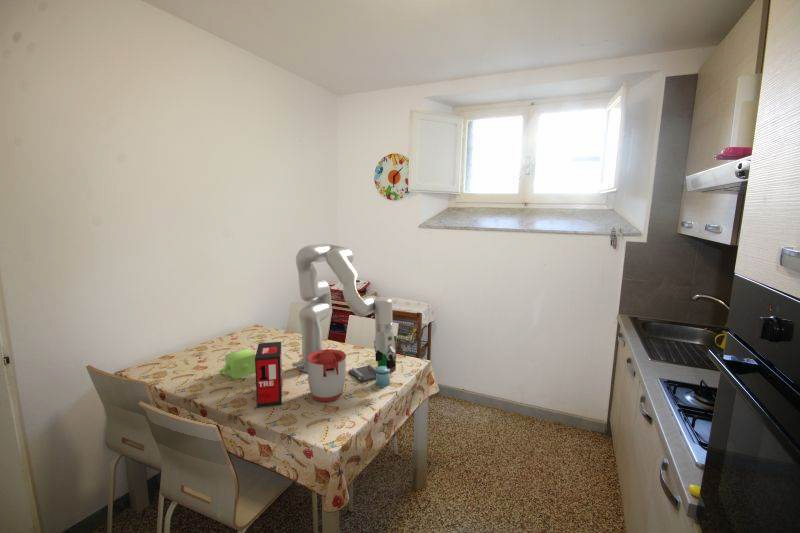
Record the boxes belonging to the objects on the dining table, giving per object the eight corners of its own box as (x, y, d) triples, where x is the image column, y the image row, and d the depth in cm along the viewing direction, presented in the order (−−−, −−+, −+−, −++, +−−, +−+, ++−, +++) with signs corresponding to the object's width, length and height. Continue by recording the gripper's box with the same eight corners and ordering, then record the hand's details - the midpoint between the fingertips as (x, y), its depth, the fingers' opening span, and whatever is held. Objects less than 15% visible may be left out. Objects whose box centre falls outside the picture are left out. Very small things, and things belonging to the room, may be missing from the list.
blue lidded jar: (380, 388, 156) (380, 373, 155) (373, 382, 161) (373, 367, 160) (392, 384, 159) (392, 369, 158) (385, 379, 164) (385, 364, 163)
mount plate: (361, 383, 160) (361, 377, 160) (348, 372, 171) (348, 367, 171) (382, 377, 166) (382, 372, 166) (369, 367, 177) (369, 362, 177)
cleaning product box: (260, 388, 154) (258, 343, 151) (282, 385, 157) (281, 341, 154) (257, 408, 139) (254, 358, 136) (281, 404, 141) (279, 356, 138)
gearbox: (224, 384, 158) (223, 364, 156) (216, 376, 164) (214, 357, 162) (264, 371, 171) (263, 352, 169) (254, 364, 177) (253, 346, 175)
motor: (393, 374, 169) (394, 333, 166) (374, 372, 171) (375, 332, 168) (397, 366, 179) (398, 327, 176) (380, 364, 181) (380, 325, 178)
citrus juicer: (312, 410, 137) (311, 360, 134) (304, 390, 153) (303, 345, 150) (352, 402, 144) (351, 354, 141) (341, 383, 159) (340, 340, 156)
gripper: (402, 330, 151) (402, 369, 153) (381, 320, 165) (382, 356, 168) (386, 333, 147) (387, 373, 149) (366, 323, 161) (367, 359, 164)
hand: (384, 364), depth 158 cm, fingers open, 9 cm apart
